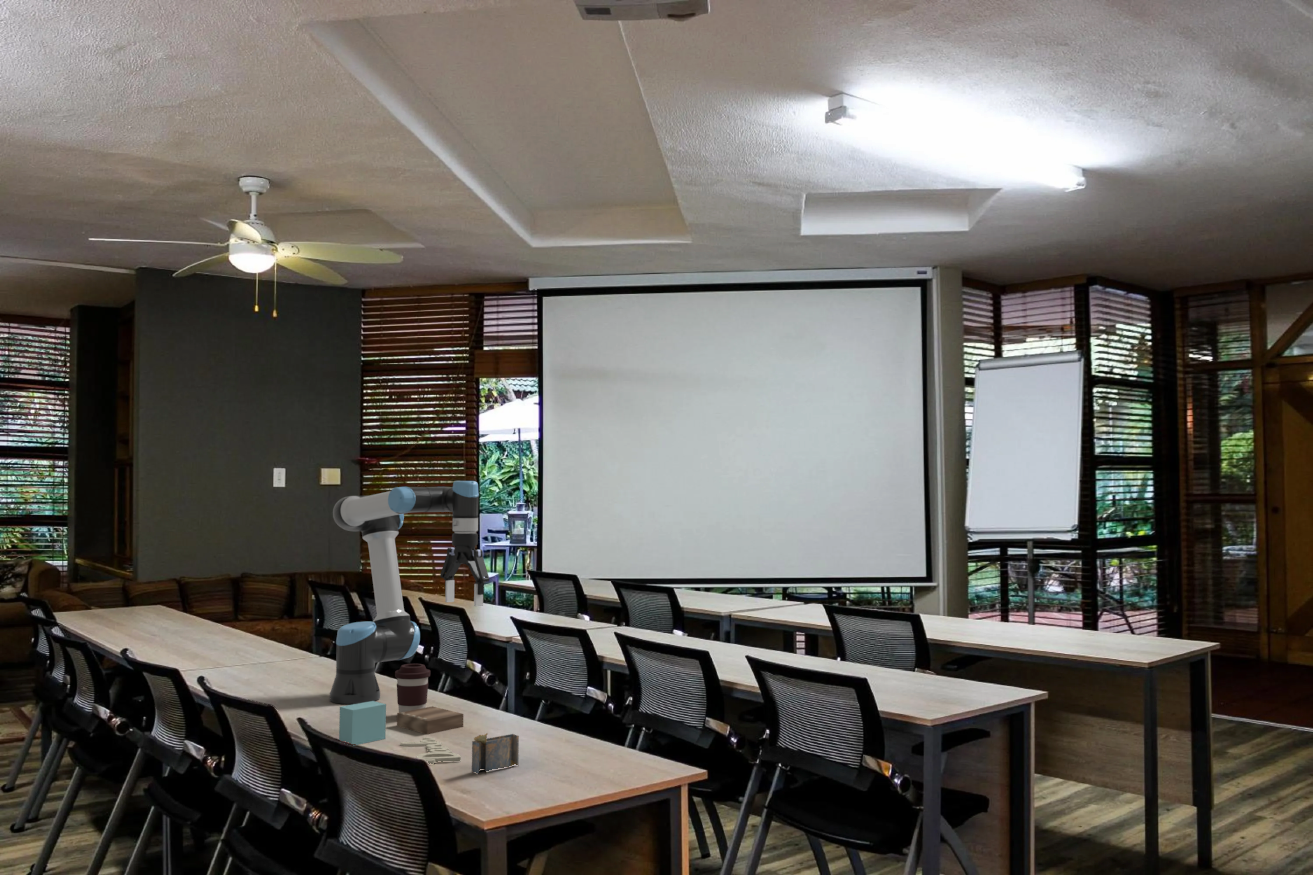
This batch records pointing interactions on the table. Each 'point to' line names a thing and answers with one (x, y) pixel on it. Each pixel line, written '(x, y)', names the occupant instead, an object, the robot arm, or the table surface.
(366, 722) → the light teal block
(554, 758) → the table surface
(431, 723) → the brown block
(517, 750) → the rusty metal bracket
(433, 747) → the decorative sign
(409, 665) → the coffee cup
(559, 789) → the table surface
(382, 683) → the table surface
